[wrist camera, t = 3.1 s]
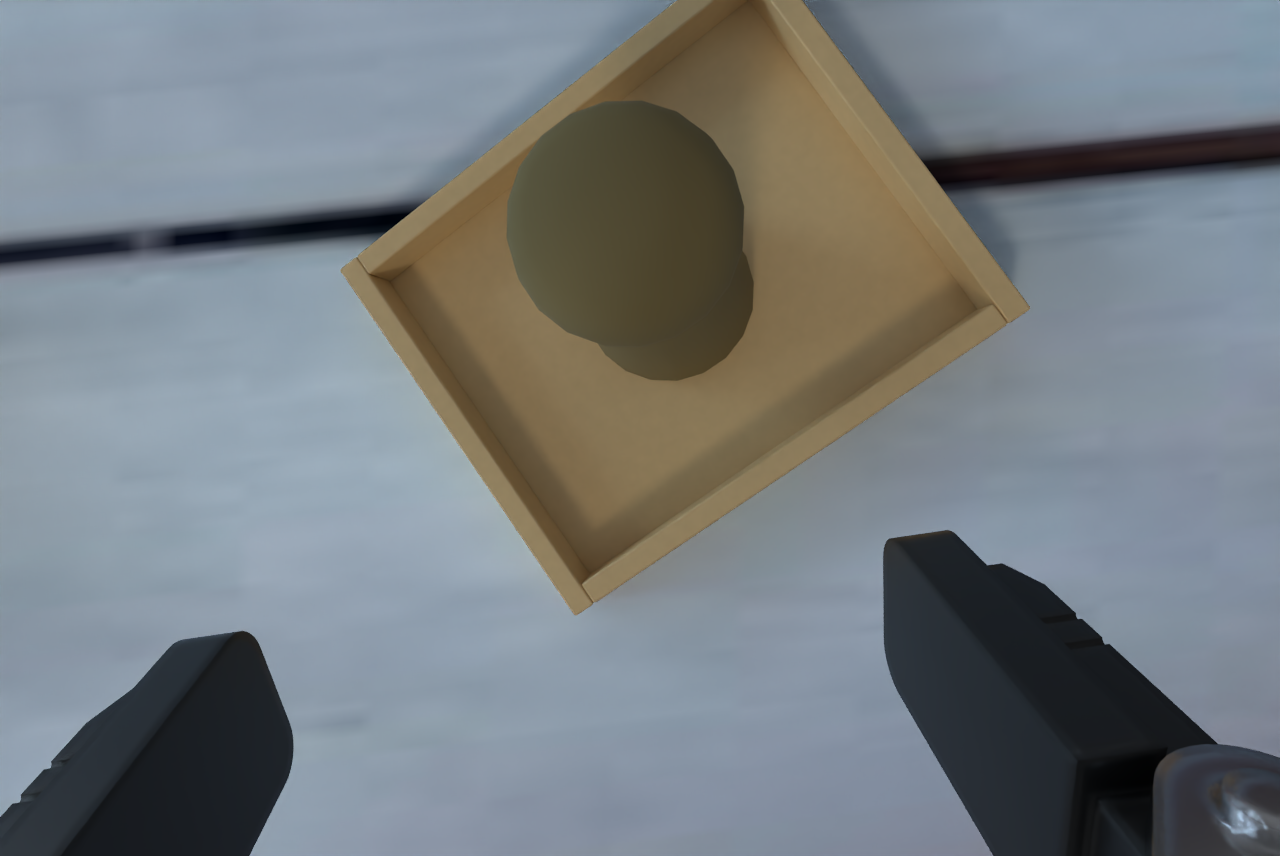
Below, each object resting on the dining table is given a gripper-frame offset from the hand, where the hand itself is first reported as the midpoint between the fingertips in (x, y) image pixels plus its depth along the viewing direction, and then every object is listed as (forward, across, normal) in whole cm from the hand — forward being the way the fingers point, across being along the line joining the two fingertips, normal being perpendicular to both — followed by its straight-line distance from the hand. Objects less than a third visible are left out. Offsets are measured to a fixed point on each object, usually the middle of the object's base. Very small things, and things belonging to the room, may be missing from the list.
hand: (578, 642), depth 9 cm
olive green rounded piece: (+17, -3, -1) cm, 18 cm away
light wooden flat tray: (+18, -3, -1) cm, 18 cm away
